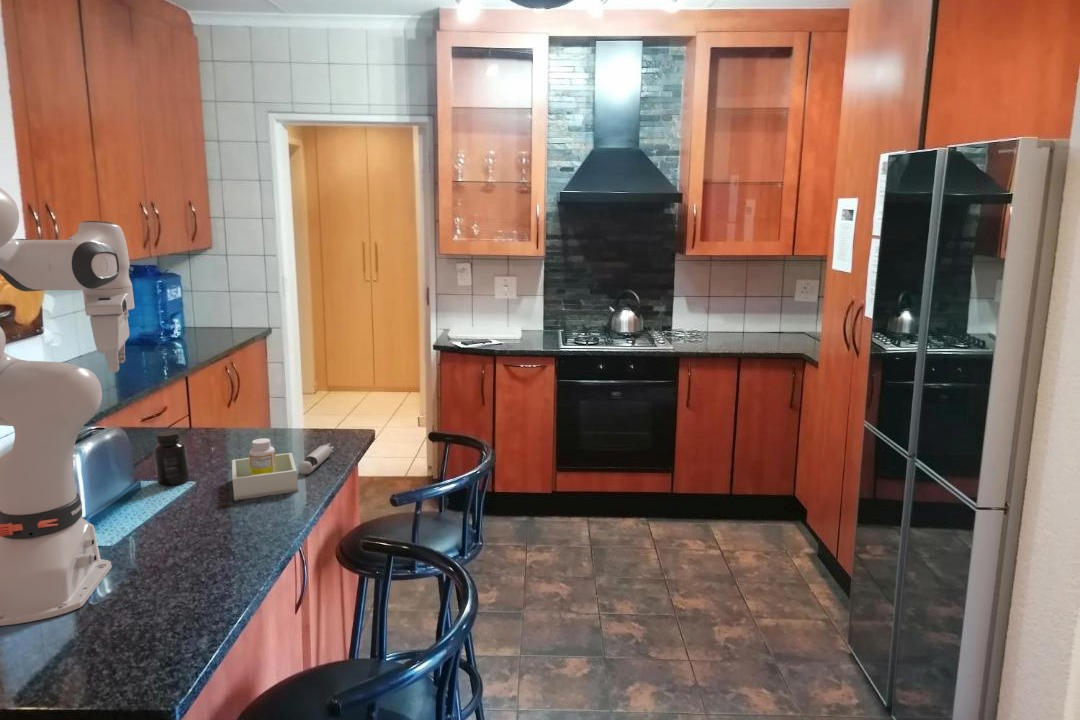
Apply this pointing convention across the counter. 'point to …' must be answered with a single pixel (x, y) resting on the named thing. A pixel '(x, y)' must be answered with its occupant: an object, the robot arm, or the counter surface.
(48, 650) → the counter surface
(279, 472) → the bin
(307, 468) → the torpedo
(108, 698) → the counter surface
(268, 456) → the supplement bottle
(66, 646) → the counter surface
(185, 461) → the supplement bottle
